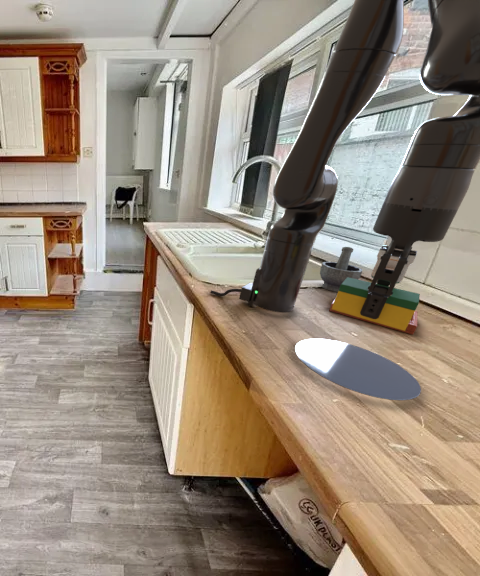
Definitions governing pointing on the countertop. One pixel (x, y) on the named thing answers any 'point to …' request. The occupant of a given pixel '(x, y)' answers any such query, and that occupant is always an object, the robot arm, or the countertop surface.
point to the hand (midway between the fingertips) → (371, 310)
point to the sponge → (393, 312)
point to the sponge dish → (409, 329)
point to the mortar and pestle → (339, 271)
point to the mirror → (357, 369)
